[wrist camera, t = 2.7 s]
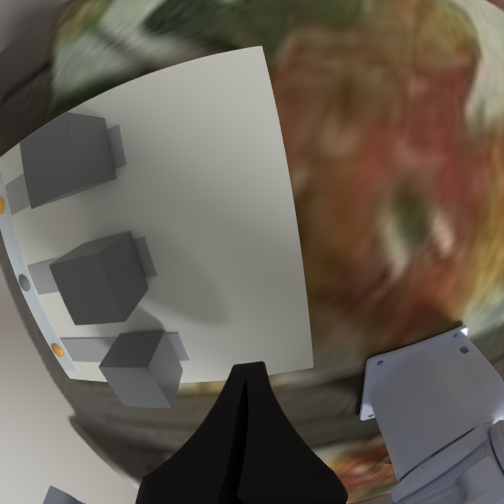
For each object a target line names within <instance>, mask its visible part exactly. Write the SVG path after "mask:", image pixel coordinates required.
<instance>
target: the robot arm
mask: <svg viewBox="0 0 504 504" xmlns="http://www.w3.org/2000/svg"><path fill="white" fill-rule="evenodd" d="M467 331H468V328H467V326H466V325H462V326H460V327H458V328H455V329H453V330H450V331H448V332H445V333H443V334H440V335H438V336H435V337H432V338H430V339H427V340H424V341H421V342H418V343H416V344H413V345H410V346H407V347H404V348H400V349H397V350H394V351H391V352H388V353H384V354H381V355H377V356H374V357H371V358H369V359H368V360H367V362H366V369H365V379H364V387H363V395H362V402H361V409H360V415H359V417H360V420H367V419H370V418H374V417H375V418H376V420H377V423H378V426H379V429H380V431H381V434H382V437H383V440H384V442H385V445H386V448H387V451H388V454H389V457H390V460H391V463H392V466H393V469H394V472H395V475H396V478H397V481H398V485H397V486H395V487H394V488H392V489H391V490H390V492H391V495H392V500H391V501H390V502H389V503H388V504H504V420H503V419H504V382H503V380H502V378H501V377H500V375H499V374H498V373H497V371H496V370H495V369H494V368H493V366H492V365H491V364H490V363H489V362H488V361H487V359H486V358H485V357H484V356H483V355H482V354H481V352H480V351H479V350H478V349H477V348H476V347H475V346H474V344H473V343H472V342H471V341H470V340H469V339H468V338H467V337H466V334H467ZM380 360H381V361H380ZM347 499H348V494H347V491H346V489H345V487H344V486H343V484H342V483H341V481H340V480H339V478H338V477H337V476H336V474H335V473H334V471H333V470H332V469H330V468H329V467H328V466H327V465H326V464H325V463H324V462H323V461H322V460H321V459H320V458H319V457H318V456H317V455H316V454H315V453H314V452H313V451H312V450H311V449H310V448H309V446H308V445H307V444H306V443H305V442H304V441H303V439H302V438H301V437H300V436H299V434H298V433H297V432H296V430H295V429H294V428H293V426H292V425H291V423H290V422H289V420H288V419H287V417H286V416H285V414H284V412H283V411H282V409H281V407H280V405H279V403H278V401H277V400H276V397H275V395H274V393H273V391H272V389H271V386H270V382H269V378H268V373H267V369H266V365H265V362H263V361H258V362H251V363H243V364H234V365H233V366H232V369H231V372H230V374H229V376H228V379H227V381H226V383H225V385H224V387H223V389H222V391H221V393H220V395H219V397H218V399H217V400H216V402H215V404H214V406H213V407H212V409H211V410H210V412H209V414H208V415H207V417H206V418H205V420H204V421H203V422H202V424H201V425H200V426H199V428H198V429H197V430H196V432H195V433H194V434H193V435H192V436H191V437H190V439H189V440H188V441H187V442H186V443H185V444H184V445H183V446H182V447H181V448H180V449H179V450H178V451H177V452H176V453H175V454H174V455H172V456H171V457H170V458H169V459H168V460H167V461H166V462H164V463H163V464H162V465H161V466H159V467H158V468H156V469H155V470H154V471H152V472H151V473H149V474H148V475H146V476H145V477H143V480H142V482H141V484H140V487H139V491H138V495H137V499H136V503H135V504H346V502H347ZM43 504H85V503H82V502H80V501H78V500H77V499H75V498H74V497H72V496H71V495H69V494H67V493H65V492H63V491H61V490H59V489H57V488H55V487H53V486H50V487H49V490H48V492H47V495H46V498H45V500H44V502H43Z"/></svg>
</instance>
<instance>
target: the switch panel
mask: <svg viewBox="0 0 504 504" xmlns="http://www.w3.org/2000/svg"><path fill="white" fill-rule="evenodd" d="M67 112H70V113H77V114H83V115H90V116H96V117H101V118H105V121H106V128H107V134H108V139H109V145H110V150H111V155H112V160H113V165H114V170H115V174H116V179H115V180H112V181H109V182H106V183H103V184H101V185H98V186H95V187H92V188H90V189H87V190H85V191H82V192H80V193H77V194H75V195H72V196H70V197H66V198H63V199H60V200H57V201H54V202H51V203H48V204H45V205H42V206H39V207H37V208H34V209H31V205H30V201H29V196H28V192H27V187H26V182H25V177H24V171H23V165H22V158H21V151H20V143H18V144H17V145H16V146H14V147H13V148H12V149H10V150H9V151H8V152H6V153H5V154H4V155H3V156H2V157H0V229H1V233H2V236H3V240H4V243H5V246H6V249H7V253H8V256H9V258H10V261H11V264H12V267H13V270H14V272H15V275H16V278H17V280H18V283H19V285H20V287H21V290H22V292H23V295H24V297H25V299H26V301H27V304H28V306H29V308H30V310H31V312H32V314H33V316H34V318H35V320H36V322H37V324H38V326H39V328H40V330H41V332H42V334H43V335H44V337H45V339H46V341H47V343H48V344H49V346H50V348H51V350H52V351H53V353H54V355H55V356H56V358H57V359H58V361H59V363H60V364H61V366H62V367H63V369H64V370H65V372H66V373H67V375H68V376H69V378H71V379H81V380H91V381H104V382H107V380H106V378H105V377H104V375H103V374H102V372H101V371H100V369H99V367H98V366H99V365H100V363H101V362H102V360H103V359H104V357H105V355H106V354H107V352H108V351H109V349H110V348H111V346H112V345H113V343H114V341H115V340H116V338H117V337H118V335H119V334H120V333H133V332H146V331H158V330H165V331H166V333H167V335H168V338H169V340H170V342H171V345H172V347H173V349H174V351H175V354H176V356H177V358H178V360H179V362H180V364H181V367H182V369H183V372H182V376H181V379H180V383H189V382H207V381H221V380H227V379H228V376H229V374H230V372H231V369H232V366H233V365H234V364H243V363H251V362H258V361H263V362H265V365H266V369H267V373H268V375H273V374H280V373H286V372H292V371H298V370H303V369H309V368H314V364H313V352H312V341H311V330H310V320H309V311H308V302H307V293H306V285H305V277H304V269H303V261H302V254H301V246H300V239H299V233H298V226H297V219H296V213H295V206H294V200H293V194H292V188H291V182H290V177H289V171H288V165H287V160H286V154H285V149H284V144H283V139H282V134H281V129H280V124H279V119H278V114H277V109H276V105H275V100H274V96H273V91H272V87H271V82H270V78H269V74H268V69H267V65H266V61H265V57H264V53H263V49H262V46H258V47H251V48H245V49H239V50H234V51H229V52H224V53H219V54H215V55H210V56H206V57H202V58H198V59H194V60H191V61H187V62H184V63H180V64H177V65H174V66H170V67H167V68H164V69H161V70H158V71H155V72H153V73H150V74H147V75H144V76H142V77H139V78H136V79H134V80H131V81H129V82H127V83H124V84H122V85H119V86H117V87H115V88H113V89H110V90H108V91H106V92H104V93H102V94H100V95H98V96H96V97H94V98H92V99H90V100H88V101H86V102H84V103H82V104H80V105H78V106H76V107H74V108H73V109H71V110H69V111H67ZM62 115H63V114H62ZM60 116H61V115H60ZM57 118H58V117H57ZM55 119H56V118H55ZM52 121H53V120H52ZM47 124H48V123H47ZM44 126H45V125H44ZM41 128H42V127H41ZM38 130H39V129H38ZM35 132H36V131H35ZM32 134H33V133H32ZM29 136H30V135H29ZM26 138H27V137H26ZM22 141H23V140H22ZM127 231H130V232H131V235H132V239H133V242H134V245H135V249H136V252H137V255H138V258H139V261H140V264H141V267H142V270H143V273H144V276H145V279H146V281H147V284H148V287H149V289H148V291H147V292H146V293H145V295H144V296H143V298H142V299H141V300H140V302H139V303H138V305H137V306H136V307H135V309H134V310H133V312H132V313H131V315H130V316H129V317H128V319H127V320H126V322H118V323H106V324H91V325H75V324H74V322H73V320H72V318H71V316H70V314H69V312H68V310H67V308H66V306H65V303H64V301H63V299H62V297H61V294H60V292H59V290H58V287H57V285H56V283H55V280H54V278H53V275H52V272H51V270H50V267H49V265H50V264H51V263H53V262H54V261H56V260H57V259H59V258H60V257H62V256H63V255H65V254H67V253H68V252H70V251H71V250H73V249H75V248H76V247H78V246H79V245H81V244H83V243H85V242H89V241H93V240H96V239H100V238H104V237H108V236H111V235H115V234H119V233H123V232H127Z"/></svg>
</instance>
